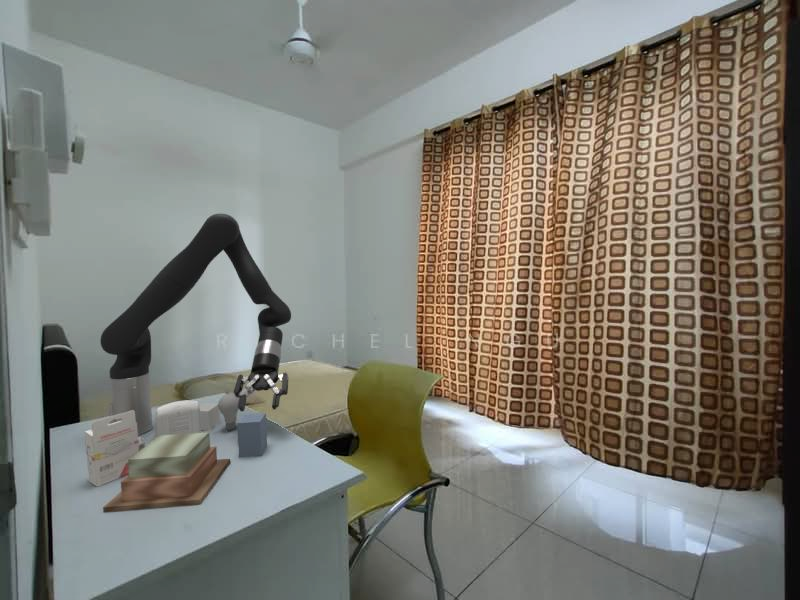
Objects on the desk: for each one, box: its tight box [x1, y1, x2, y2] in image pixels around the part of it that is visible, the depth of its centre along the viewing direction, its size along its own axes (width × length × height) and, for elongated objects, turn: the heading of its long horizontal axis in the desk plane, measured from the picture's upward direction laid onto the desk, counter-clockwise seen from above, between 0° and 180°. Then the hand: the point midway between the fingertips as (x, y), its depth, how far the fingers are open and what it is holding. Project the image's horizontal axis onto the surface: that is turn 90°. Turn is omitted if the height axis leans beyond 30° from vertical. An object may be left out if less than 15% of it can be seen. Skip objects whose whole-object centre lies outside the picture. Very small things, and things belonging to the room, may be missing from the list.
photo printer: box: [155, 399, 202, 438], centre depth 95 cm, size 10×4×12 cm, turn 123°
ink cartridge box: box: [84, 410, 140, 487], centre depth 81 cm, size 9×5×15 cm, turn 148°
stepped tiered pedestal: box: [102, 431, 231, 513], centre depth 77 cm, size 18×16×9 cm
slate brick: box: [236, 413, 268, 459], centre depth 91 cm, size 6×6×9 cm
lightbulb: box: [217, 392, 240, 431], centre depth 105 cm, size 6×6×11 cm
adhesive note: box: [199, 403, 221, 431], centre depth 108 cm, size 6×6×6 cm
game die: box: [138, 436, 146, 450], centre depth 94 cm, size 4×4×3 cm
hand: (257, 409), depth 96 cm, fingers open, 8 cm apart
